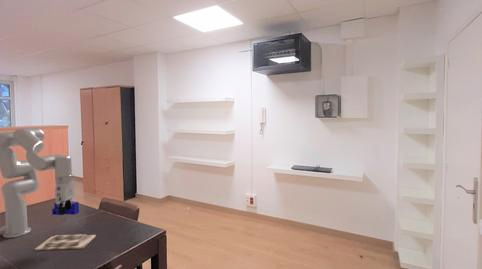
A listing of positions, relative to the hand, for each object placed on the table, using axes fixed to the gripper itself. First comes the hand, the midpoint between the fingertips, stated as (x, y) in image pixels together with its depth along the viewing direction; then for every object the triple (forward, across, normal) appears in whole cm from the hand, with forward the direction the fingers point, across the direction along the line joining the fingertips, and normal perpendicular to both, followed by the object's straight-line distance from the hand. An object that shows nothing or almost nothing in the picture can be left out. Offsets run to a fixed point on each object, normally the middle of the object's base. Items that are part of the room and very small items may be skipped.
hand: (65, 211), depth 142 cm
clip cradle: (+17, 0, 0) cm, 17 cm away
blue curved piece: (+1, 0, 0) cm, 1 cm away
